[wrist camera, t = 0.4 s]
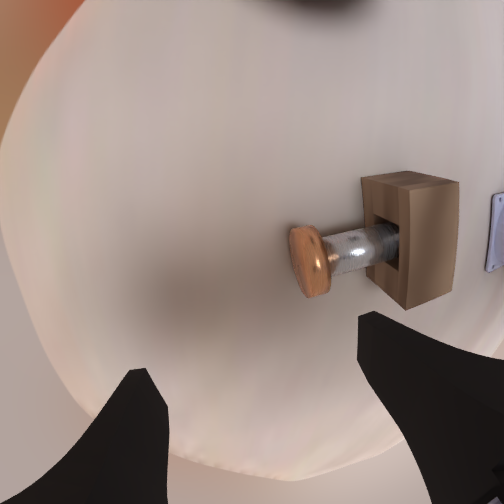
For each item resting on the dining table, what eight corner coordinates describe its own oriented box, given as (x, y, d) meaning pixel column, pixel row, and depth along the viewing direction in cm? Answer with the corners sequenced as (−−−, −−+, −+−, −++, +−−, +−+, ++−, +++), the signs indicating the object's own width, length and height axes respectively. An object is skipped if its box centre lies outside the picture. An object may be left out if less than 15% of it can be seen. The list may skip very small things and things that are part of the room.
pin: (375, 202, 17) (411, 217, 13) (377, 257, 18) (409, 280, 15) (285, 221, 17) (307, 241, 13) (294, 279, 18) (314, 311, 14)
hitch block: (408, 170, 17) (459, 182, 13) (409, 262, 20) (451, 291, 15) (361, 177, 17) (409, 190, 12) (366, 276, 20) (405, 310, 15)
